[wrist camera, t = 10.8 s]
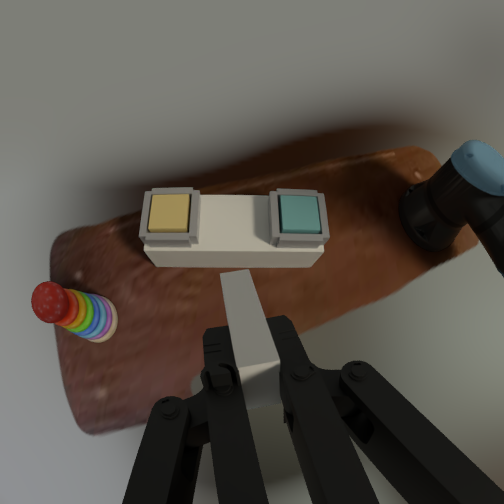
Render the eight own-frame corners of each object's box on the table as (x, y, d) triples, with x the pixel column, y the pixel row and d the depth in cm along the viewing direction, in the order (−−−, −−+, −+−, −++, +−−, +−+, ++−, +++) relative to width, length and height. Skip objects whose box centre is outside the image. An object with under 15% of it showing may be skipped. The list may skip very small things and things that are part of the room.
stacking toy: (88, 349, 42) (22, 341, 25) (74, 307, 44) (9, 280, 27) (126, 332, 44) (70, 317, 26) (109, 289, 46) (53, 253, 28)
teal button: (310, 207, 45) (316, 196, 41) (313, 239, 43) (320, 229, 40) (277, 206, 44) (280, 195, 41) (278, 238, 43) (283, 229, 39)
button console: (305, 219, 53) (322, 187, 43) (310, 267, 50) (330, 244, 40) (160, 218, 51) (146, 185, 41) (156, 266, 48) (137, 243, 38)
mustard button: (191, 205, 43) (188, 194, 40) (189, 238, 42) (185, 228, 38) (157, 206, 43) (152, 194, 40) (154, 238, 41) (148, 228, 38)
